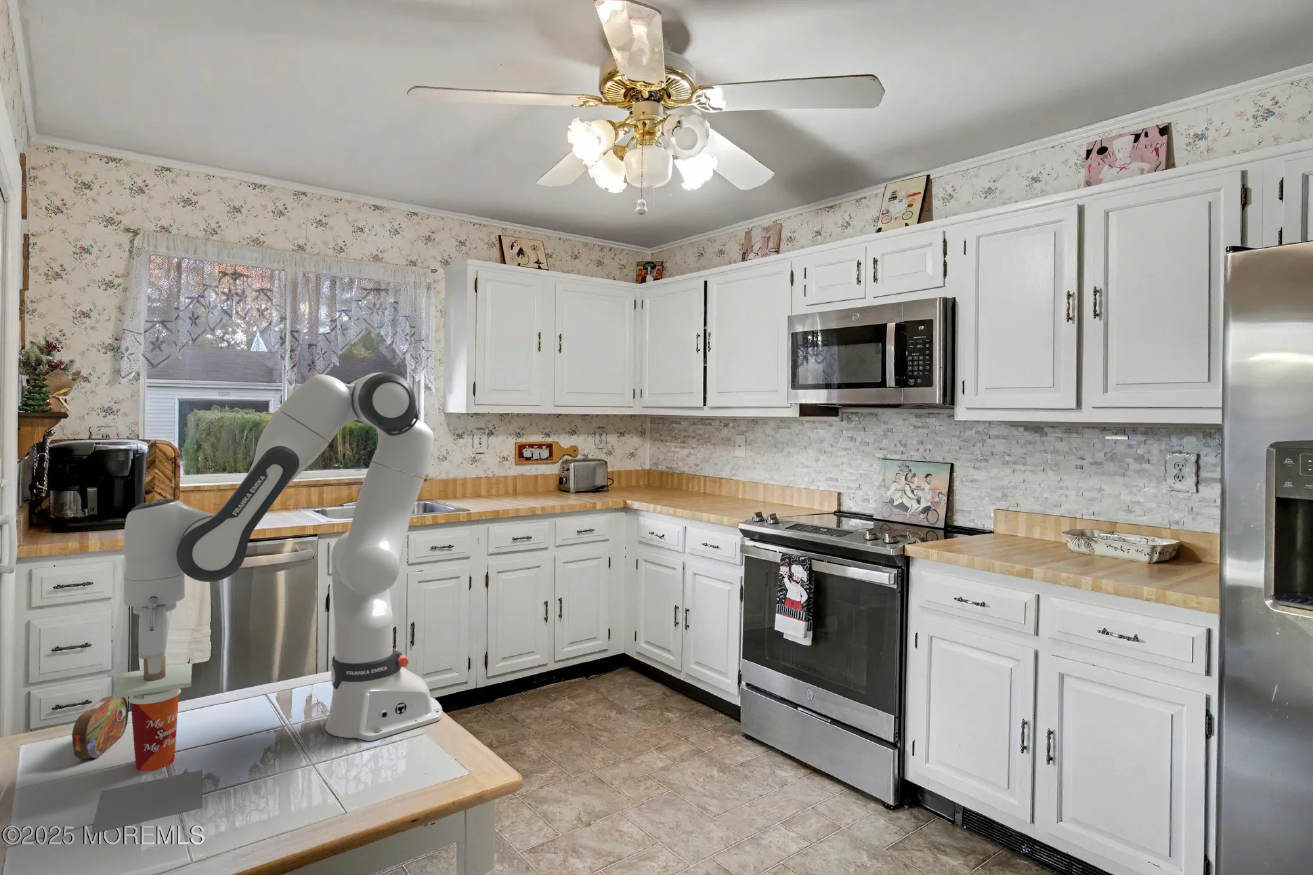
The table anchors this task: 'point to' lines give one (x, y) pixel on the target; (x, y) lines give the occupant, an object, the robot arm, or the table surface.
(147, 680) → the lid
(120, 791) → the mat
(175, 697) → the paper cup
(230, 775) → the table surface
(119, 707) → the tin
